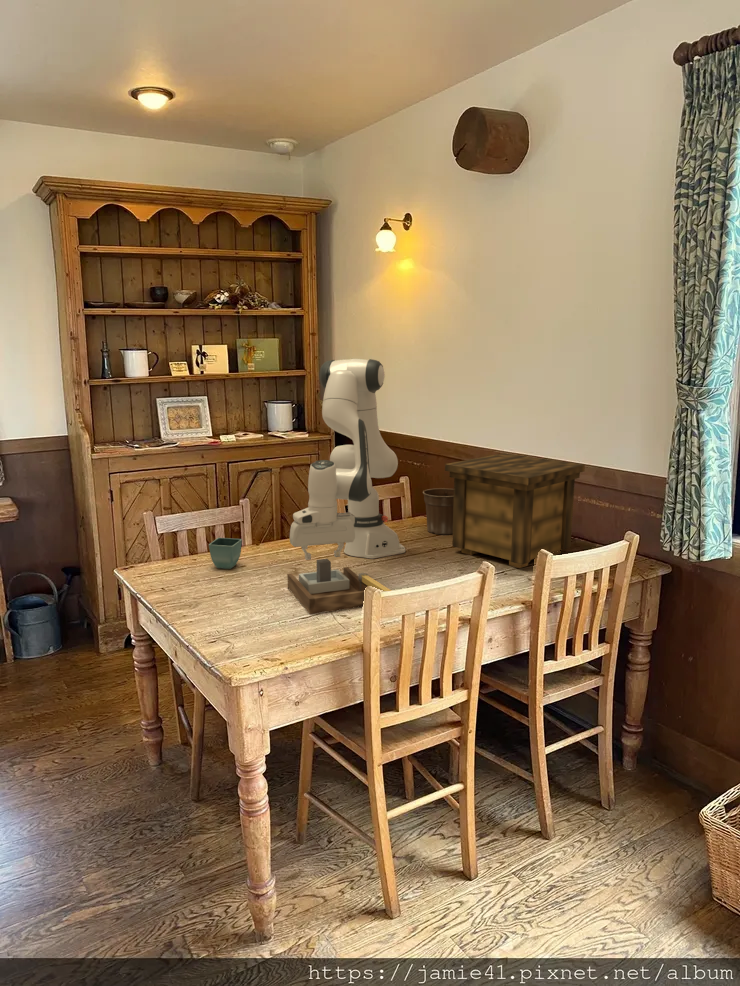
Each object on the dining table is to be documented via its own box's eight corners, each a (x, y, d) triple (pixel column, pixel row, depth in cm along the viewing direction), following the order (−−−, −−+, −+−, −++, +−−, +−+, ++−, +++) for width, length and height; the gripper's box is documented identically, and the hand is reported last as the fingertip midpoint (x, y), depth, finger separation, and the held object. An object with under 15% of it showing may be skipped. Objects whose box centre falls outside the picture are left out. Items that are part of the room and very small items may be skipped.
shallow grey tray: (337, 578, 243) (337, 553, 241) (349, 589, 233) (349, 563, 231) (298, 582, 238) (298, 558, 236) (308, 594, 228) (308, 568, 226)
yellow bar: (356, 579, 229) (356, 574, 229) (365, 578, 230) (365, 572, 230) (385, 598, 213) (385, 592, 213) (394, 597, 214) (394, 591, 214)
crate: (443, 552, 275) (445, 464, 268) (500, 534, 299) (503, 453, 292) (523, 574, 251) (528, 478, 244) (579, 553, 275) (584, 464, 268)
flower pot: (233, 571, 253) (232, 545, 251) (209, 570, 255) (208, 544, 253) (243, 563, 261) (242, 538, 259) (219, 562, 263) (218, 537, 261)
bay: (348, 580, 245) (348, 565, 244) (375, 605, 223) (375, 589, 222) (287, 587, 237) (287, 572, 236) (309, 614, 216) (309, 597, 215)
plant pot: (417, 526, 311) (418, 488, 307) (455, 525, 314) (456, 487, 310) (427, 537, 295) (428, 497, 292) (467, 535, 298) (468, 495, 295)
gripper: (351, 509, 237) (351, 552, 239) (287, 514, 229) (288, 558, 232) (358, 514, 231) (357, 557, 234) (293, 518, 224) (293, 563, 226)
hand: (322, 557), depth 233 cm, fingers open, 8 cm apart
